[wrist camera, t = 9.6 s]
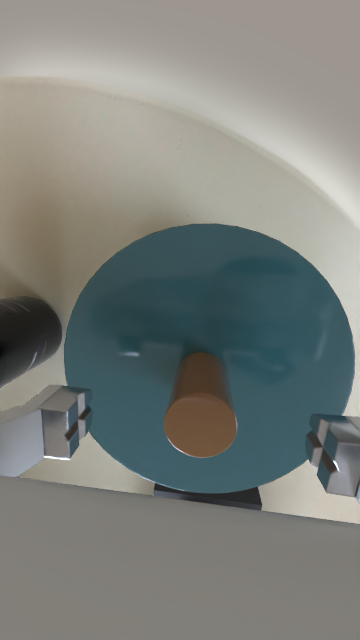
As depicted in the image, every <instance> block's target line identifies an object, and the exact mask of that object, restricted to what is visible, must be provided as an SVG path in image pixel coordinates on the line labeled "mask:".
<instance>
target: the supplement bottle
mask: <svg viewBox="0 0 360 640" xmlns="http://www.w3.org/2000/svg"><path fill="white" fill-rule="evenodd" d="M61 340H62V327H61V323H60V321H59V318H58V316H57V315H56V313H55V312H54V311H53V309H52V308H51V307H50V306H48V305H47V304H46V303H44V302H43V301H41V300H39V299H36V298H33V297H26V296H22V297H14V298H7V299H1V300H0V388H1V387H2V386H4V385H6V384H7V383H9V382H11V381H12V380H14V379H16V378H17V377H19V376H21V375H22V374H24V373H26V372H27V371H29V370H31V369H32V368H34V367H36V366H37V365H39V364H41V363H42V362H44V361H45V360H47V359H48V358H50V357H51V356H52V355H54V353H55V352H56V351H57V350H58V348H59V346H60V343H61Z"/></svg>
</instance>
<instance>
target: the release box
mask: <svg viewBox="0 0 360 640" xmlns="http://www.w3.org/2000/svg"><path fill="white" fill-rule="evenodd" d="M154 496H157V497H164V498H171V499H179V500H186V501H193V502H201V503H208V504H215V505H223V506H230V507H237V508H245V509H252V510H259V511H261V508H262V503H261V498H260V494H259V490H258V487H254V488H250V489H246V490H242V491H235V492H228V493H197V492H188V491H183V490H178V489H173V488H170V487H167V486H164V485H160V484H157V483H155V487H154Z"/></svg>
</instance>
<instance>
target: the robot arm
mask: <svg viewBox="0 0 360 640" xmlns="http://www.w3.org/2000/svg"><path fill="white" fill-rule="evenodd" d="M91 401H92V391H91V390H90V389H87V388H79V387H71V386H64V385H49V386H48V387H46V388H45V389H44V390H43V391H41V392H40V393H39V394H37V395H36V396H35V397H34V398H32V399H31V400H30V401H29V402H27V403H26V404H25V405H24V406H22V407H21V406H17V407H14V408H11V409H8V410H5V411H2V412H0V640H360V524H355V523H348V522H340V521H333V520H326V519H318V518H311V517H303V516H296V515H289V514H281V513H274V512H267V511H259V510H252V509H245V508H237V507H230V506H223V505H215V504H208V503H201V502H193V501H186V500H179V499H171V498H164V497H157V496H149V495H142V494H135V493H127V492H120V491H113V490H106V489H98V488H91V487H84V486H76V485H69V484H62V483H54V482H47V481H40V480H32V479H25V478H18V477H17V476H19V475H20V474H22V473H23V472H25V471H26V470H28V469H29V468H31V467H33V466H34V465H36V464H37V463H39V462H40V461H42V460H43V459H44V457H47V458H57V459H67V460H69V459H70V458H71V457H72V455H73V454H74V452H75V451H76V449H77V448H78V446H79V439H81V438H83V437H85V436H86V434H87V433H88V431H89V429H90V426H91V423H92V417H93V410H92V409H91V407H90V406H89V403H90V402H91ZM309 425H310V427H311V428H312V430H311V431H310V432H309V433H308V434H307V435H306V441H305V448H306V454H307V457H308V459H309V461H310V463H311V464H312V465H313V466H314V467H315V468H317V469H318V472H317V476H318V478H319V480H320V482H321V484H322V485H323V487H324V489H325V491H326V493H330V494H336V495H343V496H349V497H355V498H356V500H357V501H358V502H360V418H359V417H352V416H339V415H327V414H312V416H311V417H310V421H309Z"/></svg>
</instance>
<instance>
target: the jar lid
mask: <svg viewBox="0 0 360 640" xmlns="http://www.w3.org/2000/svg"><path fill="white" fill-rule="evenodd" d="M64 365H65V374H66V380H67V384H68V386H71V387H79V388H87V389H90V390H91V391H92V401H91V402H90V403H89V406H90V407H91V409H92V410H93V417H92V423H91V426H90V429H89V432H90V434H91V435H92V437H93V438H94V439H95V440H96V441H97V442H98V443H99V445H100V446H101V447H102V448H103V449H104V450H105V451H106V452H107V453H108V454H110V455H111V456H112V457H113V458H114V459H115V460H116V461H118V462H119V463H121V464H122V465H123V466H125V467H126V468H128V469H129V470H131V471H133V472H134V473H136V474H138V475H140V476H142V477H143V478H146V479H148V480H150V481H153V482H155V483H157V484H160V485H164V486H167V487H170V488H173V489H178V490H183V491H188V492H197V493H228V492H235V491H242V490H246V489H250V488H254V487H258V486H261V485H263V484H266V483H269V482H272V481H274V480H276V479H278V478H280V477H282V476H284V475H286V474H288V473H290V472H291V471H293V470H294V469H296V468H297V467H299V466H300V465H302V464H303V463H304V462H305V461H307V460H308V457H307V454H306V448H305V441H306V435H307V434H308V433H309V432H310V431H311V430H312V428H311V427H310V425H309V421H310V417H311V416H312V414H327V415H339V416H342V415H343V413H344V411H345V409H346V406H347V403H348V400H349V397H350V394H351V390H352V385H353V379H354V373H355V351H354V344H353V336H352V332H351V329H350V325H349V322H348V318H347V315H346V313H345V311H344V309H343V307H342V305H341V302H340V300H339V298H338V297H337V295H336V294H335V292H334V291H333V289H332V288H331V286H330V284H329V283H328V281H327V280H326V279H325V278H324V277H323V276H322V275H321V274H320V272H319V271H318V270H317V269H316V268H315V267H314V266H313V265H312V264H311V263H310V262H308V261H307V260H306V259H305V258H304V257H302V256H301V255H300V254H299V253H298V252H296V251H295V250H293V249H291V248H290V247H288V246H286V245H285V244H283V243H281V242H280V241H278V240H276V239H273V238H271V237H269V236H266V235H264V234H262V233H259V232H256V231H253V230H249V229H245V228H241V227H238V226H230V225H223V224H190V225H184V226H177V227H172V228H168V229H165V230H162V231H158V232H155V233H152V234H150V235H148V236H145V237H143V238H141V239H139V240H137V241H135V242H133V243H131V244H130V245H128V246H127V247H125V248H123V249H122V250H120V251H119V252H117V253H116V254H115V255H114V256H113V257H111V258H110V259H109V260H108V261H107V262H106V263H104V264H103V265H102V266H101V267H100V269H99V270H98V271H97V272H96V273H95V274H94V275H93V277H92V278H91V279H90V280H89V282H88V283H87V285H86V286H85V288H84V289H83V291H82V292H81V294H80V296H79V298H78V300H77V302H76V304H75V307H74V309H73V311H72V314H71V317H70V321H69V324H68V327H67V333H66V339H65V346H64Z"/></svg>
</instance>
